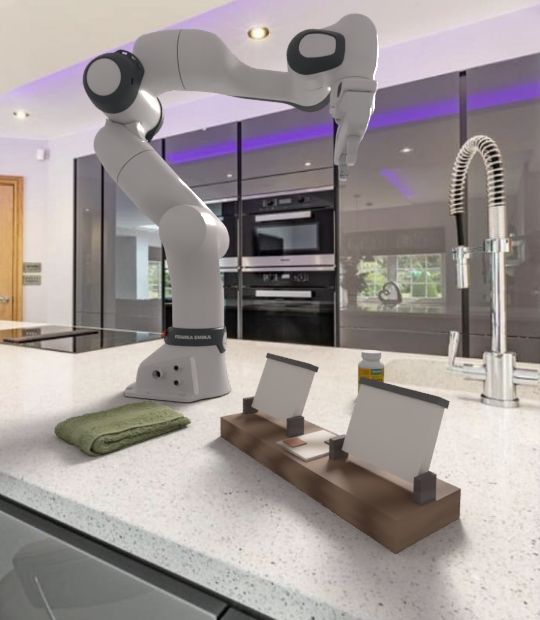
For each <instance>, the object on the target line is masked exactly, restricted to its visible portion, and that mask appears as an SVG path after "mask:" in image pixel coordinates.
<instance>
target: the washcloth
mask: <svg viewBox="0 0 540 620" xmlns="http://www.w3.org/2000/svg"><path fill="white" fill-rule="evenodd" d="M191 423H192V421H191V419H190V418H189V417H187V416H185V415H184V414H183V413H180V412H178V411H175V410H174V409H172V408H171V407H170V406H168V405H161V404H159V403H157V402H156V401H152V400H143V401H139V402H130V403H126V404H122V405H119V406H116V407H111V408H107V409H105V410H101V411H95V412H90V413H84V414H82V415H78V416H71V417H69V418H66V419H65V420H63V421H61V422H58V423H57V425H56V426H55V427H54V429H53V430H54V432H53V433H54V434H55V435H56V437H58V438H60V439H63V440H65V441H66V442H67V443H69V444H70V445H71V444H73V445H75V446H77V447H78V449H79V450H80V451H83V453H85V454H87V456H90V457H91V456H93V457H94V456H95V457H98V456H102V455H105V454H107V453H111V452H115V451H118V450H121V449H125V448H127V447H128V448H129V446H131V445H136V444H139V443H142V442H145V441H147V440H149V439H153V438H155V437H158V436H160V435H163V434H166V433H167V434H168V433H169V432H172V431H175V430H179V428H180V429H183V428H184V426H185V427H186V426H188V425H190V424H191ZM182 427H183V428H182Z"/></svg>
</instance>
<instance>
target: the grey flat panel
mask: <svg viewBox="0 0 540 620" xmlns="http://www.w3.org/2000/svg"><path fill="white" fill-rule="evenodd" d="M359 383H360V384H361V385H360V389H359V392H358V391H357V397H356V399H355V402H354V407H353V410H352V414H351V416H350V421H349V423H348V427H347V430H346V432H345V433H346V434H345V435H346V436H345V440H344V443H343V447H342V450H343V451H345V452H347V453H349V454H351V455H353V456H355V457H357V458H360V459H362V460H364V461H366V462H368V463H370V464H372V465H374V466H376V467H378V468H380V469H382V470H385V471H387V472H389V473H391V474H393V475H395V476H397V477H399V478H401V479H403V480H405V481H408V482H410V483H412V484H414V477H416V476H418V475H421V474H423V473H425V472H428V471H430V467H431V463H432V460H433V457H434V452H435V448H436V443H437V440H438V437H439V434H440V433H439V431H440V430H441V424H442V420H443V417H444V413H445V410H447V409H448V408H449V405H450V400H449V399H446V398H444V397H441V396H438V395H434V394H431V393H426V392H423V391H418V390H415V389H412V388H411V389H410V388H407V387H403V386H398V385H394V384H391V383H388V382H387V383H386V382H385V381H384V382H380V381H376V380H372V379H368V378H364V377H360V380H359Z"/></svg>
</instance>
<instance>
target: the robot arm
mask: <svg viewBox="0 0 540 620" xmlns="http://www.w3.org/2000/svg"><path fill="white" fill-rule="evenodd" d="M378 38H379V37H378V31H377V28H376V25H375V23H374V22H373V20H372V19H371V18H370V17H368V16H366V15H364V14H362V13H354V12H353V13H348V14H345V15H344V16H342V17H341V18H340V19H339V20H337V21H336V22H335V23H333V24H332V25H328V26H325V27H322V28H308V29H304V30H302V31H300V32H297V34H295V35H294V37H293V38H291V40H290V42H289V44H288V45H287V48H286V64H287V65H286V66H287V71H281V70H271V69H262V68H255V67H251V66H250V65H248V64H246V63H244V62H243V61H241V59H239V57H237V56H236V55H235V53H233V51H232V50H231V49H230V48H229V46H228V45H227V43H225V41H223V39H222V38H220V37H219V36H218V35H217V34H215V33H213V32H211V31H207V30H202V29H198V28H197V29H194V28H184V29H183V28H176V29H164V30H158V31H157V30H156V31H153V32H148V33H145V34H142V35H140V36H138V37H137V39H136V40H135V41H134V44H133V47H132V52H131V51H128V50H125V49H117V50H115V51H114V52H106V53H102V54H99V55H98V56H95V57H94V58H93V59H91V60H90V61H89V62H88V63H87V65H86V66H85V69H84V70H83V74H82V85H83V88H84V91H85V94H86V95H87V97H88V99H89V100H90V101H91V103H92V105H93V106H95V108H96V109H98V110H99V111H100V112H101V113H103V114H104V115H105V116H106V118H105V124H104V125H103V127H101V128H100V129H99V130H98V131H97V132H96V134H95V135H94V140H93V150H94V153H95V155H96V157H97V158H98V160H99V162H100V163H101V165H102V166H103V168H104V169H105V171H106V172H107V173H108V175H109V177H110V178H111V179H112V180H113V182H115V183H116V185H117V186H118V187H119V188H120V190H121V191H122V192H123V193H124V195H126V196H127V197H128V198H129V199H130V200H131V202H132V204H134V206H136V208H138V210H139V211H140V212H141V213H142V214H143V215H144V216H145V217H146V218H148V219H149V220H150V221H151V222H152V223H153V224H155V225H156V226H157V227H158V236H159V240H160V242H161V244H162V246H163V248H164V252H165V258H166V264H167V270H168V275H169V276H168V277H169V281H170V287H171V302H172V303H171V304H172V305H171V307H172V308H171V310H172V313H171V314H172V315H171V316H172V325H171V326H169V327H168V328H167V329H165V330H164V331H162V332H161V338H163V342H164V343H163V344H162V345H161V346H160V347H158V348H157V349H156V350H155V351H153V352H152V353H151V354H150V355H148V356H147V357H146V358H144V360H143V361H142V360H141V362H140V364H139V365H138V368H137V370H136V377H135V381H134V382H132V383H131V384H129V385H127V386H126V388H125V389H124V395H125V397H129V398H140V399H151V400H160V401H167V402H169V401H170V402H177V403H178V402H179V403H191V402H195V401H199V400H203V399H210V398H216V397H219V396H223V395H226V394H228V393H230V392H231V390H232V386H231V383H230V379H229V374H228V369H227V368H228V367H227V361H226V351H227V342H228V341H227V339H228V338H227V327H226V326H225V288H224V285H223V281H222V275H221V266H220V260H221V259H222V258H223V257H224V256H225V255H226V254H227V251H228V250H229V247H230V235H229V232H228V229H227V227H226V226H225V224H224V222H223V221H222V220H221V219H219V218H218V217H217V215H216V214H215V213H214V212H213V211H212V209H210V208H209V207H208V206H207V205H206V204H205V203H204V202H203V200H201V198H200V197H199V196H198V195H197V194H196V193H195V192H194V191H193V190H192V188H190V187H189V186H188V185H187V184H186V182H184V181H183V180H182V178H180V176H179V175H178V174H177V173H176V172H175V171H174V169H173V168H172V167H170V165H169V164H168V163H167V161H165V160H164V158H163V157H162V156H161V155H160V154H159V153H158V152H157V150H155V148H153V146H152V145H151V144H150V143H151V142H152V140H153V138H154V137H155V136H156V135H157V134H158V133H159V132H160V130H161V129H162V127H163V125H164V121H165V112H164V111H165V110H164V107H163V105H162V102H161V100H160V99H159V96H161V95H162V94H164V93H167V92H172V91H178V92H201V93H209V94H211V93H213V94H218V95H224V96H228V97H233V98H239V99H243V100H252V101H259V102H270V103H276V104H277V103H278V104H285V105H288V106H290V107H293V108H295V109H297V110H299V111H302V112H305V113H315V112H318V111H321V110H322V109H324V108H325V107H327V106H328V105H329V110H328V112H329V114H330V116H331V117H332V118H334V121H335V124H337V125H338V127H337V130H336V134H335V142H334V143H335V144H334V155H333V165H334V166H338V181H340V182H346V181H348V179H349V166H351V167H353V166H355V165H356V163H357V159H358V158H357V157H358V150H359V146H360V143H361V142H362V140H363V138H364V136H365V134H366V131H367V129H368V127H369V123H370V119H371V116H373V114H374V112H375V101H376V94H377V91H378V80H376V79H375V75H376V71H377V68H378V58H379V39H378Z"/></svg>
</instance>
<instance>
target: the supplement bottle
mask: <svg viewBox="0 0 540 620" xmlns="http://www.w3.org/2000/svg"><path fill="white" fill-rule="evenodd" d="M360 357H361V360H359V362H358V364H357V393H358V392H359V389H360V385H361V384H360V383H359V380H360V377H364V378H368V379H372V380H376V381H380V382H384V383H385V364H384V363H383V361H381V358H382V352H381V351H379V350H375V349H374V350H372V349H369V350H362V351H361V355H360Z"/></svg>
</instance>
